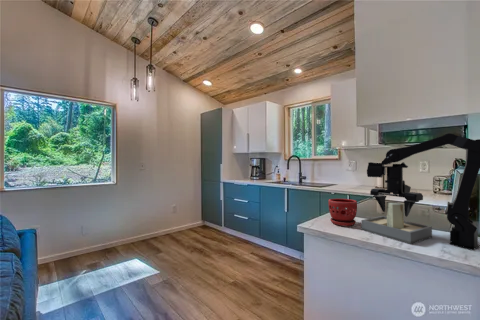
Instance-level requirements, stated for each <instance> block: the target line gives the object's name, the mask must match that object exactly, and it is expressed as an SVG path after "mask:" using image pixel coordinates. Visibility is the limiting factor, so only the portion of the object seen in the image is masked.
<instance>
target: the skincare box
mask: <svg viewBox="0 0 480 320" xmlns="http://www.w3.org/2000/svg"><path fill="white" fill-rule="evenodd" d="M385 205H386V217H387V226H389V227H393V228H397V229H403V228H404V221H405V220H404V218H405V217H404V203H403V204H402V203H400V202H398V201H397V202H393V201H385Z"/></svg>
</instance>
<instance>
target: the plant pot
mask: <svg viewBox="0 0 480 320" xmlns="http://www.w3.org/2000/svg"><path fill="white" fill-rule="evenodd" d="M327 202H328V211H329V214H330V216H331V218H330V222H331V223H332V224H333V225H337V226H343V227H351V226H354V225H355V224H356V222H357V221H356V219H355V218H356V216H357V212H358V202H357V200H355V199H349V198H329V199H328V201H327Z"/></svg>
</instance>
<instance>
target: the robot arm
mask: <svg viewBox="0 0 480 320" xmlns="http://www.w3.org/2000/svg"><path fill="white" fill-rule="evenodd" d="M446 145H447V146H448V145H451V146H453V147H456V148H459V149H462V150H465V165H464V168H463V172H462V175H461V179H460V182H459V184H458V185H459V186H458V189H457V193H456V195H455V198H454V200H453V201H452V202H450V201H447V207H446V209H445V210H444V214H445V215H446V219H447V221H448V222H449V223H450V224H451V225H453V226H452V227H451V230H450V231H449V238H450V239H449V241H450V242H449V244H450V245H452V246H455V247H459V248H460V247H461V248H463V249H468V250H471V251H472V250H474V251H475V250H477V249H478V248H480V245H479V242H478V241H479V240H478V239H479V236H478V234H479V231H478V227H477V225H476V224H475V222H474V220H472V219H471V218H470V217H469V216H470V201H471V197H472V194H473V191H474V187H475V184H476V181H477V178H478V175H479V171H480V139H479V138H477V139H471V138H468V137H464V136H459V135H456V134H454V133H452V132H451V133H450V132H449V133H448V132H447V133H446V134H443V135H441V136H438V137H435V138H431V139H429V140H426V141H423V142H420V143H419V142H418V143H416V144H413V145H410V146H404V147H403V146H402V147H397V148H392V149H389V150H387V151H386V153H385V158H384V159H383V160H381V161H380V162H371V161H370V162H367V163H368V165H367V169H366V175H367V177H368V178H383V177H384V176H386V180H384V183H385V184H386V189H385V188H379V187H378V188H371V189H370V192H369V194H370V196H373V198H374V199H375V200H376V202H377V203H378V205H379V207H380V209H381V211H382V212H383V213H385V212H386V198H387V196H389V197H390V196H391V197H399V198H404V199H405V200H403V211H404V215H405V217H409V215H410V212H411V210H412V207H413V206H414V205H415V203H418V202H419V201H424V196H423V193H421V192H413V191H411V189H412V188H411V186H410V185H408V184H406V181H405V180H404V179H403V175H404V174H403V172H404V171H403V169H408V168H409V165H407V164H406V163H405V161H404V160H405V159H407V158H410V157H411V156H414V155H416V154H419V153H424V152H427V151H430V150H433V149H437V148H439V147H443V146H446ZM401 161H402V162H401ZM403 161H404V162H403ZM399 162H401V163H399ZM391 164H392V165H391ZM388 165H389V166H388ZM390 165H391V166H390Z"/></svg>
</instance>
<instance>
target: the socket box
mask: <svg viewBox="0 0 480 320" xmlns="http://www.w3.org/2000/svg"><path fill="white" fill-rule="evenodd" d="M361 231H364V232H368V233H370V234H374V235H377V236H381V237H385V238H387V239H390V240H394V241H397V242H401V243H405V244H407V245H413V244H416V243H419V242H423V241H425V240H429V239H432V238H433V226H431V225H426V224H422V223H417V222H413V221H409V220H404V228H403V229H397V228H393V227H389V226H387V215H386V216H385V215H380V216H375V217H369V218H365V219H361Z"/></svg>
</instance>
